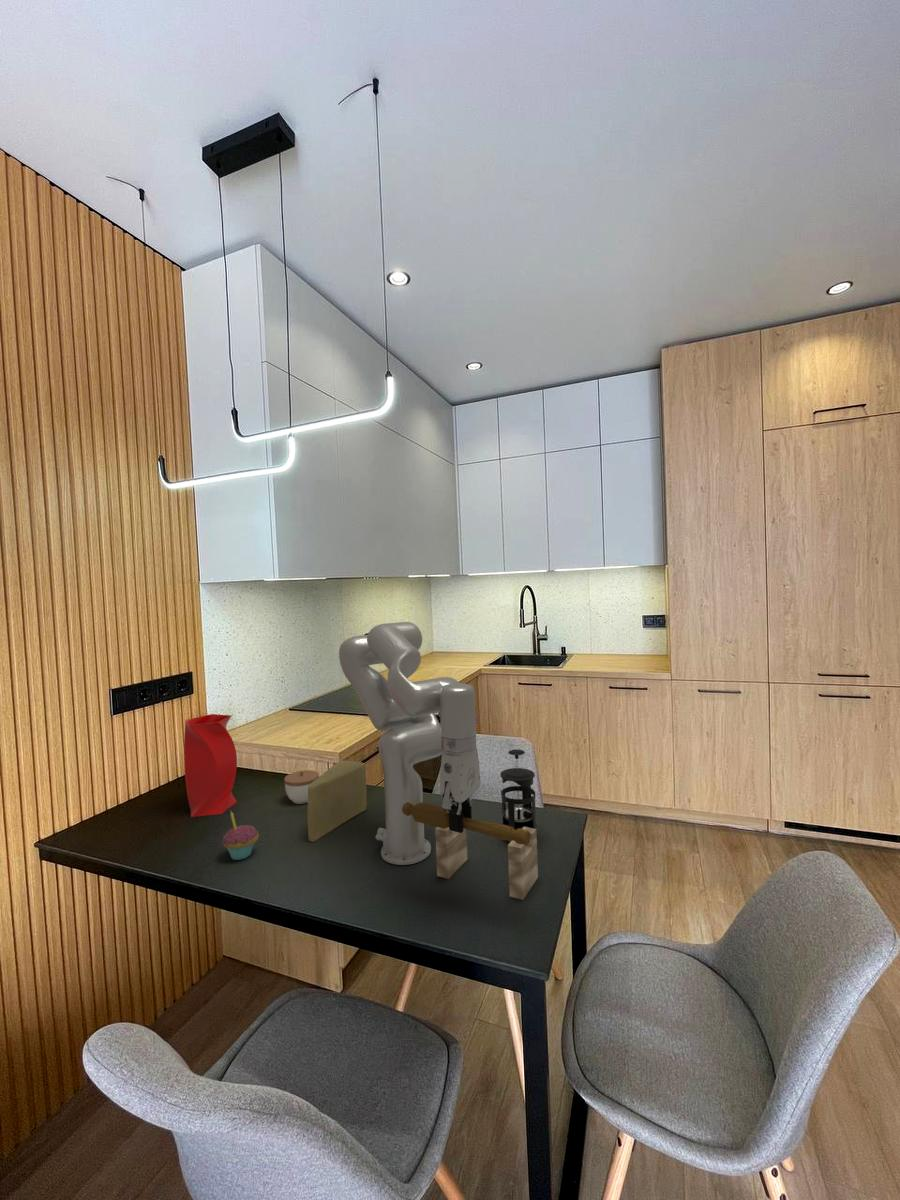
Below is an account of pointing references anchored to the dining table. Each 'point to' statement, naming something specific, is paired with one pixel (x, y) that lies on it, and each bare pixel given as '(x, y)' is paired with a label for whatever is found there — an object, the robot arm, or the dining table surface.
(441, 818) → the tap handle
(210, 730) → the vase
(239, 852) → the cupcake
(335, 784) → the cheese
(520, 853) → the block
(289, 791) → the lidded jar
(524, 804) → the french press
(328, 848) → the dining table surface
